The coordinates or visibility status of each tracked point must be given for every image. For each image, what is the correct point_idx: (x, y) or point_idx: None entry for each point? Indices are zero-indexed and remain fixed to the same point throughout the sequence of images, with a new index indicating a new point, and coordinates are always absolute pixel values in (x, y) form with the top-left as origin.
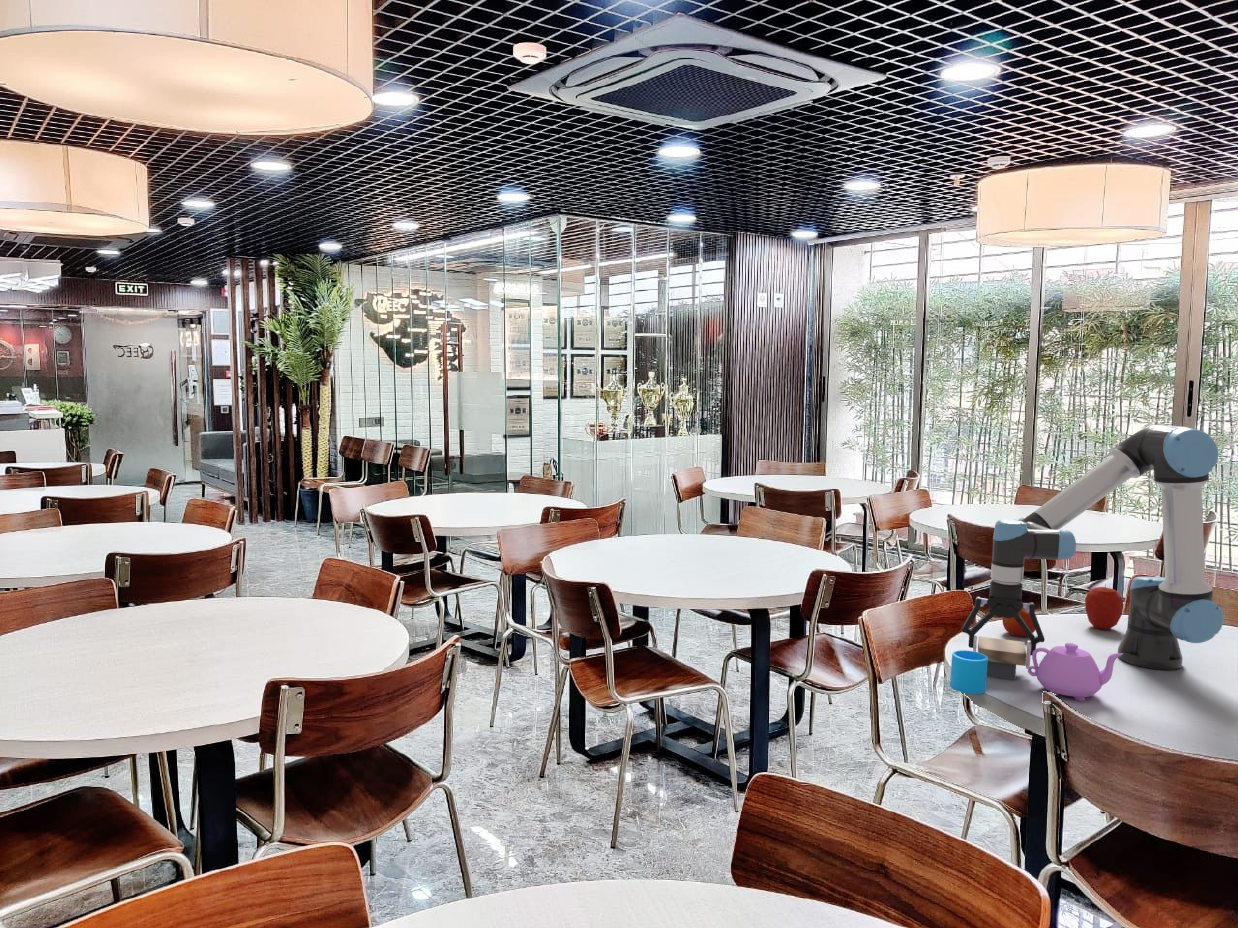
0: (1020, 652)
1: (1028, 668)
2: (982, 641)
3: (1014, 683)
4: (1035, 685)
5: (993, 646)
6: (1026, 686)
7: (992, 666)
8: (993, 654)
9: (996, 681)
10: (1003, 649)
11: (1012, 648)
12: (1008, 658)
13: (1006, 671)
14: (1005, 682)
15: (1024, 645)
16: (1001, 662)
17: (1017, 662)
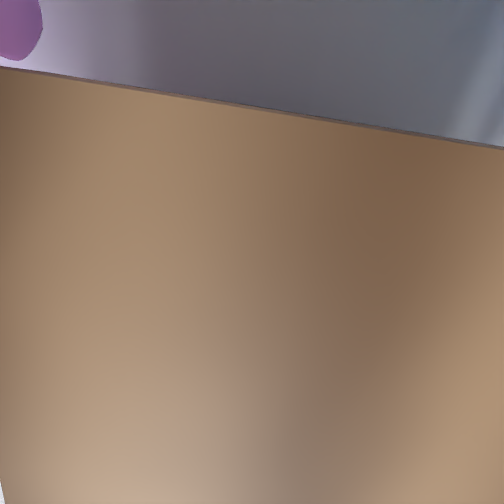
0: (37, 154)
1: (14, 2)
2: (496, 491)
3: (199, 60)
4: (38, 59)
5: (436, 353)
6: (109, 3)
7: None
8: (473, 143)
9: (334, 68)
10: (323, 248)
11: (166, 339)
12: (254, 107)
13: None
14: (267, 64)
15: (7, 487)
16: (328, 118)
17: (137, 87)
